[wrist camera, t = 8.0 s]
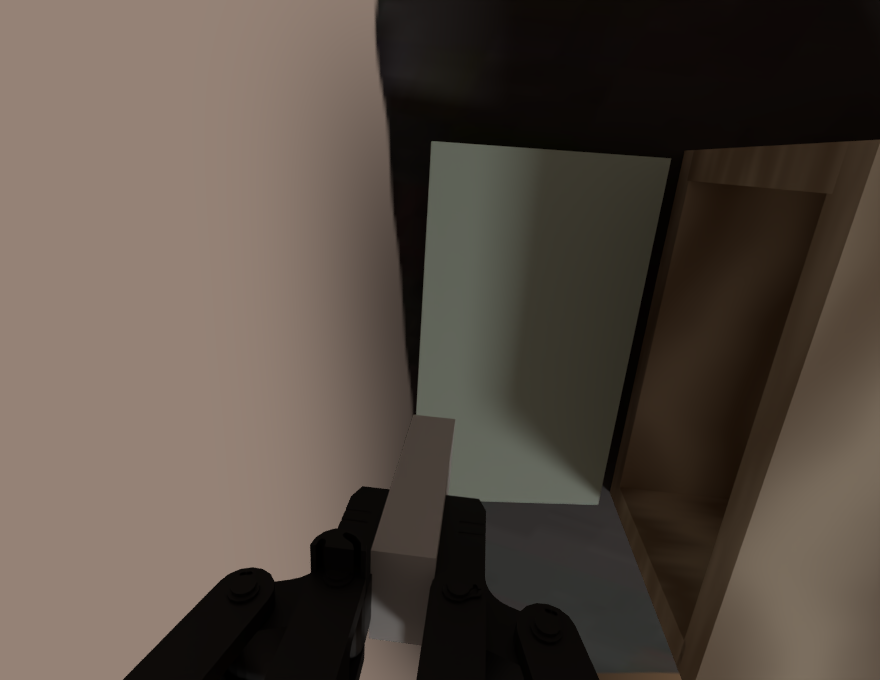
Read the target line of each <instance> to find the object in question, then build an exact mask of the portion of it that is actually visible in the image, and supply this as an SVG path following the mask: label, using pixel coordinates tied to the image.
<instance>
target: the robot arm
mask: <svg viewBox="0 0 880 680" xmlns="http://www.w3.org/2000/svg"><path fill="white" fill-rule="evenodd" d="M454 429H455V419H450V418H440V417H431V416H422V415H413V416H412V420H411V423H410V426H409V429H408V433H407V436H406V439H405V442H404V445H403V449H402V452H401V455H400V458H399V462H398V465H397V468H396V472H395V475H394V478H393V481H392V484H391V487H390V490H389V489H381V488H380V489H379V488H372V487H363V486H362V487H361V488H360V489H359V490H358V491H357V492H356V493H354V494H353V495H352V496H351V498H350V500H349V503H348V505H347V507H346V511H345V513H344V515H343V517H342V521H341V522H340V524H339V526H338V529H332V530H329V531H325V532H323V533H322V534H320V535H319V536H317V537H316V538H315V539H314V540H313V542H312V543H311V545H310V551H311V573H310V574H308V575H305V576H303V577H300V578H296V579H291V580H284V581H277V582H274V580H273V578H272V576H271V574H270V573H268V572H267V571H265V570H263V569H259V568H245V569H240V570H237V571H235V572H233V573H230V574H229V575H227V576H226V577H225V578H223V579H222V580H221V581H220V582H219V583H218V584H217V585H216V586H215V587H214V588H213V589H212V590H211V591H210V592H209V593H208V594H207V595H206V596H205V597H204V598H203V599H202V600H201V601H200V602H199V603H198V604H197V605H196V606H195V607H194V608H193V609H192V610H191V611H190V612H189V613H188V614H187V615H186V616H185V617H184V618H183V619H182V620H181V621H180V622H179V623H178V624H177V625H176V626H175V627H174V628H173V629H172V631H170V632H169V633H168V634H167V636H166V637H164V638H163V639H162V640H161V641H160V643H159V644H158V645H157V646H156V647H155V648H154V649H153V650H152V651H151V652H150V653H149V654H148V655H147V656H146V657H145V658H144V659H143V660H142V661H141V662H140V663H139V664H138V665H137V666H136V667H135V668H134V669H133V670H132V671H131V672H130V673H129V674H128V675H127V676H126V677H125V678H124V679H123V680H359V678H360V674H361V670H362V666H363V662H364V646H365V644H364V643H365V640H366V636H367V632H368V629H369V638H372V639H379V640H386V641H393V642H401V643H408V644H416V645H422V647H421V653H420V660H419V667H418V673H417V680H599V678H598V676H597V673H596V671H595V669H594V667H593V664H592V662H591V660H590V658H589V656H588V653H587V651H586V649H585V647H584V644H583V642H582V640H581V638H580V635H579V633H578V631H577V629H576V626H575V625H574V623H573V622H572V620H571V619H570V617H569V616H567V615H566V614H565V613H564V612H562V611H561V610H560V609H558V608H556V607H553V606H551V605H549V604H539V603H536V604H532V605H529V606H526V607H525V608H524V609H523V610H521V611H518V610H516V609H514V608H511V607H509V606H507V605H505V604H504V603H502V602H500V601H499V600H498V599H496V598H495V597H494V596H493V595H492V593H491V592H490V591H489V589H488V587H487V585H486V581H485V533H486V527H485V526H486V511H485V509H484V507H483V505H482V503H481V502H480V500H479V499H476V498H468V497H459V496H451V495H448V494H449V486H450V475H451V463H452V452H453V440H454Z"/></svg>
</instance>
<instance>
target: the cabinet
mask: <svg viewBox="0 0 880 680" xmlns="http://www.w3.org/2000/svg"><path fill="white" fill-rule="evenodd" d="M610 494H611V497H612V499H613V502H614V505H615V507H616V510H617V512H618V515H619V518H620V520H621V523H622V525H623V528H624V531H625V533H626V536H627V538H628V541H629V544H630V546H631V549H632V551H633V554H634V557H635V559H636V562H637V564H638V567H639V570H640V572H641V575H642V577H643V580H644V583H645V585H646V588H647V590H648V593H649V596H650V598H651V601H652V603H653V606H654V608H655V611H656V614H657V616H658V619H659V621H660V624H661V627H662V629H663V632H664V634H665V637H666V640H667V642H668V645H669V647H670V650H671V653H672V655H673V658H674V660H675V663H676V666H677V668H678V671H679V673H680V676H681V679H682V680H880V140H864V141H846V142H828V143H811V144H793V145H775V146H757V147H739V148H722V149H704V150H686V151H685V152H684V156H683V161H682V165H681V170H680V174H679V179H678V183H677V188H676V193H675V197H674V202H673V206H672V211H671V215H670V220H669V225H668V229H667V234H666V238H665V243H664V247H663V252H662V257H661V261H660V266H659V270H658V275H657V279H656V284H655V288H654V293H653V298H652V302H651V307H650V311H649V316H648V320H647V325H646V330H645V334H644V339H643V343H642V348H641V352H640V357H639V361H638V366H637V371H636V375H635V380H634V384H633V389H632V393H631V398H630V403H629V407H628V412H627V416H626V421H625V425H624V430H623V434H622V439H621V444H620V448H619V453H618V457H617V462H616V466H615V471H614V476H613V480H612V485H611V489H610Z"/></svg>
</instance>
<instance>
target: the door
mask: <svg viewBox="0 0 880 680" xmlns="http://www.w3.org/2000/svg"><path fill="white" fill-rule="evenodd" d="M670 162H671V158H658V157H644V156H631V155H617V154H603V153H589V152H575V151H561V150H548V149H534V148H520V147H506V146H492V145H478V144H464V143H451V142H437V141H431V153H430V171H429V189H428V207H427V225H426V243H425V261H424V279H423V297H422V315H421V333H420V351H419V369H418V387H417V405H416V415H422V416H431V417H440V418H450V419H455V429H454V440H453V452H452V463H451V475H450V486H449V494H448V495H451V496H459V497H468V498H476V499H479V500H480V501H491V502H522V503H554V504H586V505H598V503H599V498H600V493H601V488H602V484H603V479H604V474H605V469H606V465H607V460H608V455H609V451H610V446H611V441H612V436H613V432H614V427H615V422H616V417H617V413H618V408H619V403H620V399H621V394H622V389H623V384H624V380H625V375H626V370H627V365H628V361H629V356H630V351H631V347H632V342H633V337H634V332H635V328H636V323H637V318H638V314H639V309H640V304H641V299H642V295H643V290H644V285H645V280H646V276H647V271H648V266H649V262H650V257H651V252H652V247H653V243H654V238H655V233H656V228H657V224H658V219H659V214H660V210H661V205H662V200H663V195H664V191H665V186H666V181H667V176H668V172H669V167H670Z"/></svg>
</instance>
